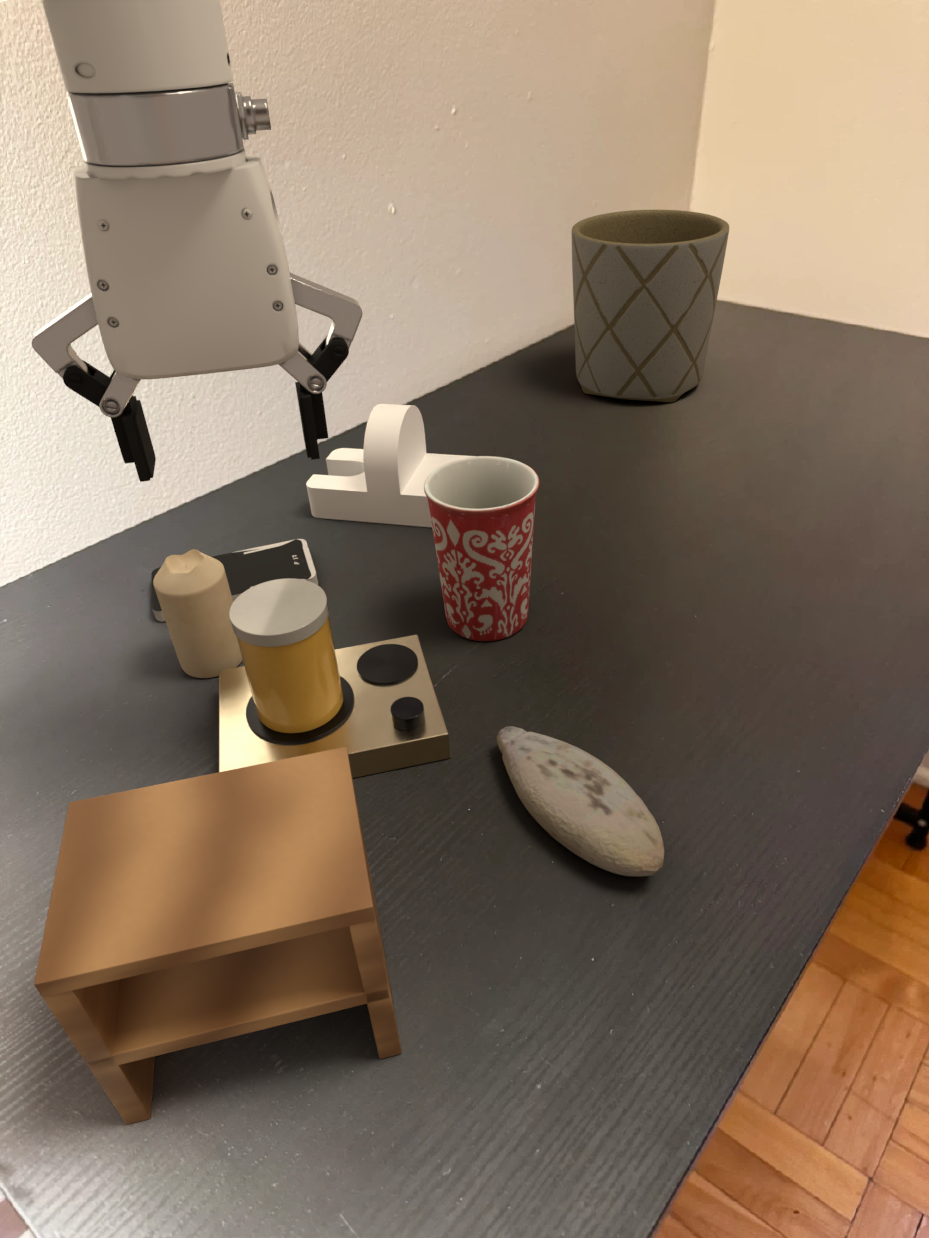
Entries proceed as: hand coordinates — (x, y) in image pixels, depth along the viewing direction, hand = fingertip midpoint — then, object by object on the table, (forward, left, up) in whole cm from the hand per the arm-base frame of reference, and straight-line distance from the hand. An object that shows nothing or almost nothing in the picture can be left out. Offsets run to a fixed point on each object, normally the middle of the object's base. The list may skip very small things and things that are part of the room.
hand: (231, 460), depth 50 cm
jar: (+1, 0, -20) cm, 20 cm away
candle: (-6, +11, -23) cm, 26 cm away
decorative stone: (+18, -13, -23) cm, 32 cm away
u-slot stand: (+14, +33, -23) cm, 43 cm away
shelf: (-3, -21, -23) cm, 31 cm away
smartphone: (-4, +22, -23) cm, 32 cm away
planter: (+51, +56, -23) cm, 79 cm away
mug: (+19, +11, -23) cm, 32 cm away
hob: (+3, 0, -23) cm, 23 cm away
